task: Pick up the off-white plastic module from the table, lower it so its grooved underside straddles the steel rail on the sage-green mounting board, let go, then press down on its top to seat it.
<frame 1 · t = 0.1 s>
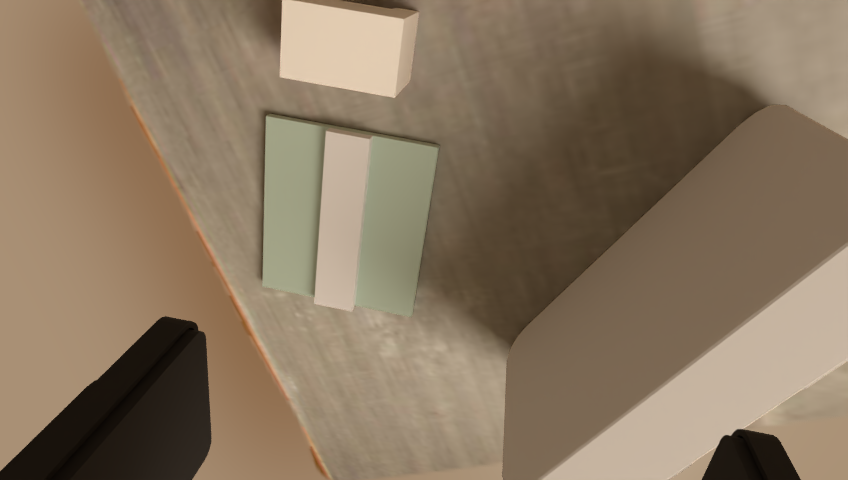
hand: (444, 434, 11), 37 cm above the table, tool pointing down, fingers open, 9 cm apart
module: (362, 38, 44), on the table
grey rounded block: (644, 253, 48), on the table
rail board: (345, 219, 50), on the table
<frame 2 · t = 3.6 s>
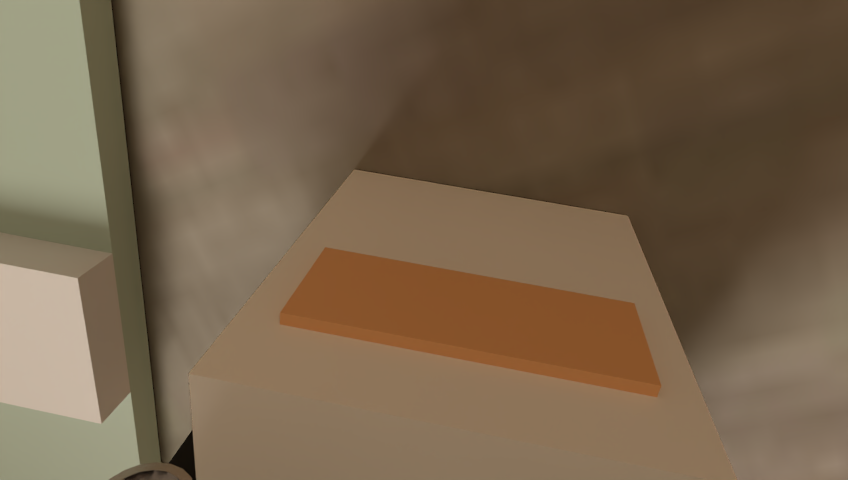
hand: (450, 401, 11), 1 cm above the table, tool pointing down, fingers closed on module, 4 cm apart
module: (456, 367, 12), on the table, touching gripper
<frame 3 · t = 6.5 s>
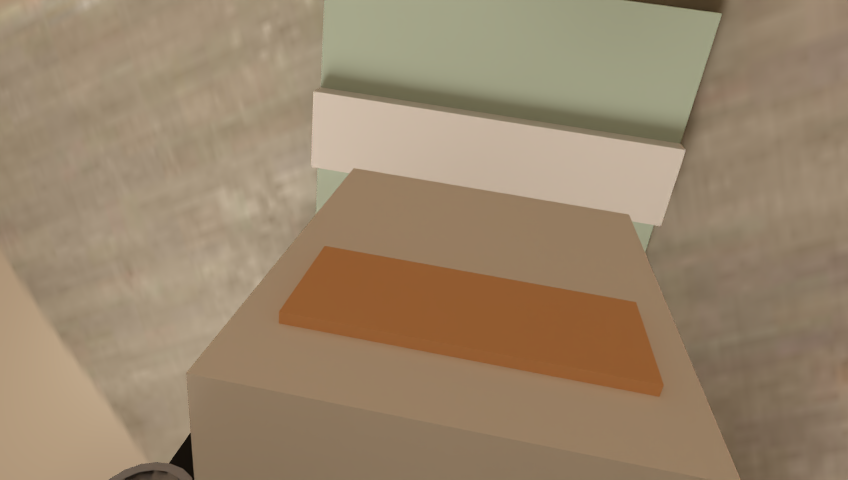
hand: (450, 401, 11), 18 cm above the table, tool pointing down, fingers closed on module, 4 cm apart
module: (456, 366, 12), point 17 cm above the table, touching gripper
rail board: (489, 147, 27), on the table
when the fingers open (3 cm above the table, at t = 9.8 s): module stays where it is, resting on rail board.
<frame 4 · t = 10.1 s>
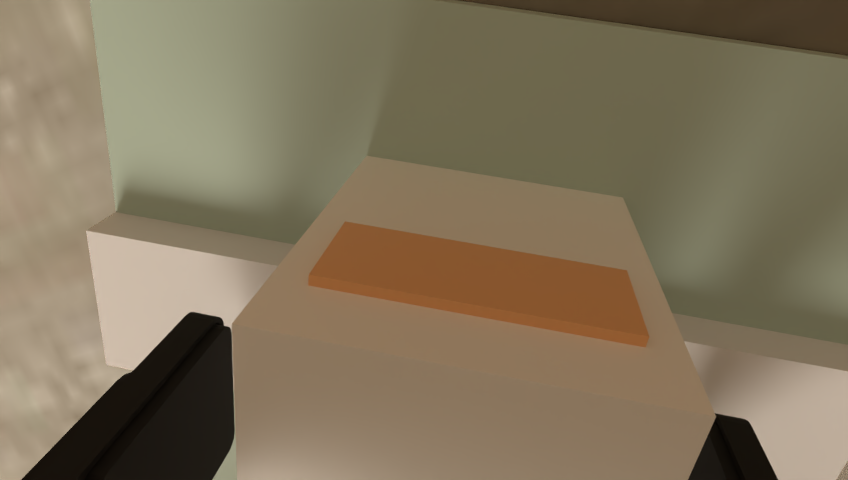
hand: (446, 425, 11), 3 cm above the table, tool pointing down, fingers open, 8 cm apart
module: (462, 343, 13), point 1 cm above the table, touching rail board
rail board: (463, 324, 14), on the table
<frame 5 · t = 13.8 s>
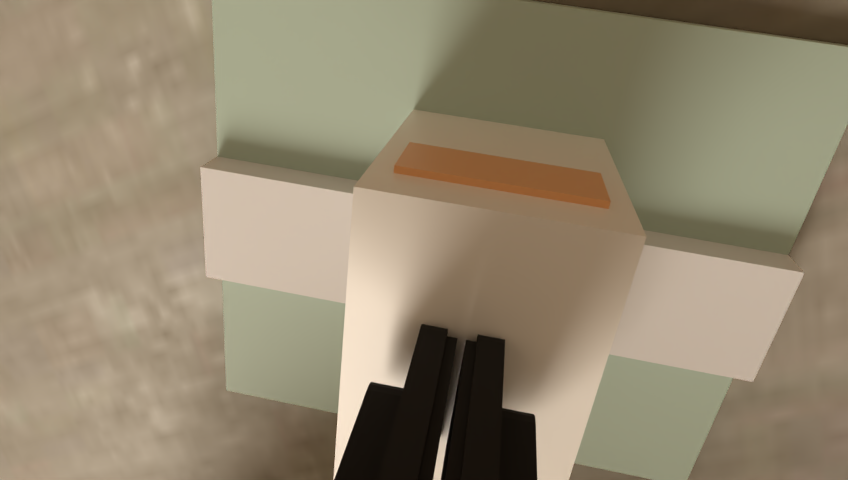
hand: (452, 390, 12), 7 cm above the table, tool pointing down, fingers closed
module: (482, 258, 17), point 1 cm above the table, touching gripper, rail board
rail board: (482, 246, 18), on the table
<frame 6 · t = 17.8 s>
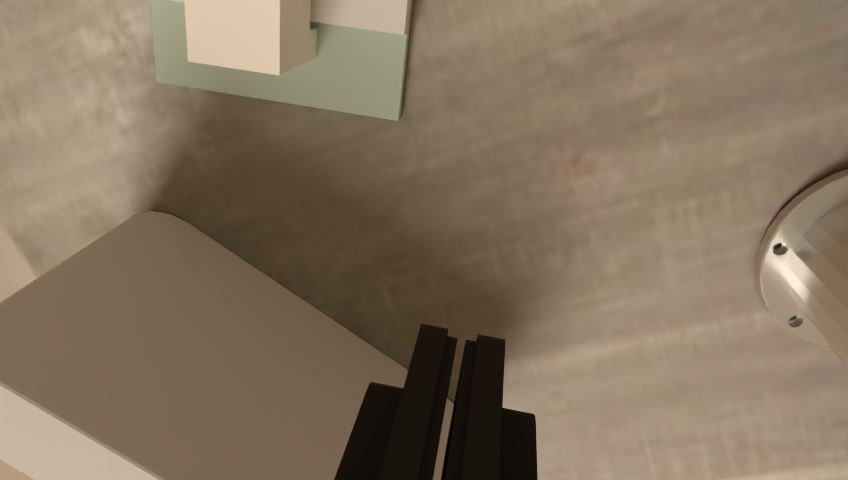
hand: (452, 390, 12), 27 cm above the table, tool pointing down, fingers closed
grey rounded block: (303, 329, 46), on the table
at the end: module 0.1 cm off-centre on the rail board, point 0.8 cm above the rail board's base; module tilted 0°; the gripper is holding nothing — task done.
